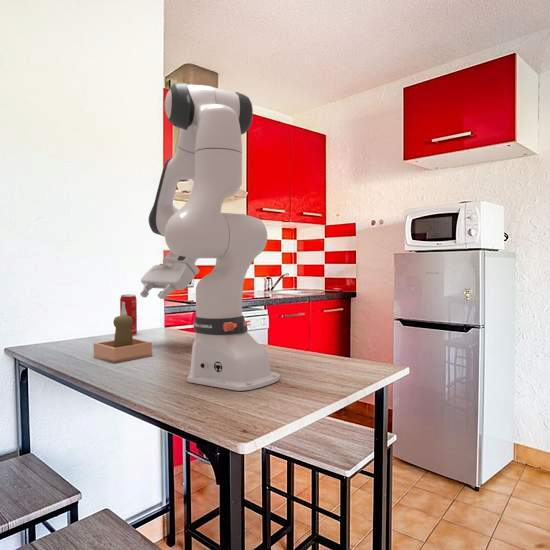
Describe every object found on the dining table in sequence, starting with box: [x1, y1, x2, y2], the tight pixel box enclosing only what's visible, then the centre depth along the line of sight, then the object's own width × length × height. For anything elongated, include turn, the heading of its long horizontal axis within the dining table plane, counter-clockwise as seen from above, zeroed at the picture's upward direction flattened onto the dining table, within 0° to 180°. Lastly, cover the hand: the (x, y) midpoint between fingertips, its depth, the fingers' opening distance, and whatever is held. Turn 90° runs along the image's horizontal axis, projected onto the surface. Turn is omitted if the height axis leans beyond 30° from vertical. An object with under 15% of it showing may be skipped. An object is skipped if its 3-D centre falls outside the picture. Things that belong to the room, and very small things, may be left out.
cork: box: [112, 315, 134, 348], centre depth 125 cm, size 6×6×11 cm
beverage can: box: [119, 293, 138, 337], centre depth 160 cm, size 6×6×15 cm
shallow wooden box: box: [93, 337, 153, 364], centre depth 125 cm, size 12×12×4 cm
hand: (151, 296), depth 132 cm, fingers open, 8 cm apart
